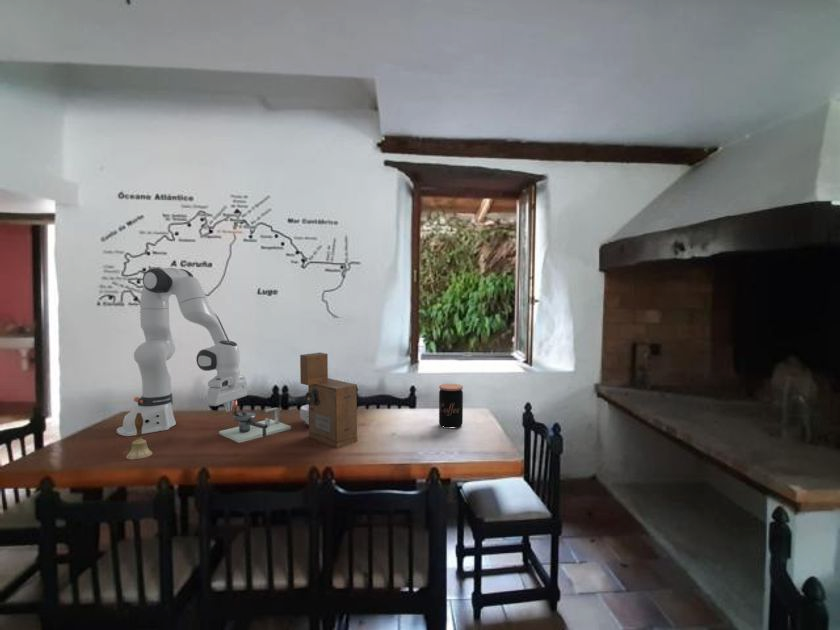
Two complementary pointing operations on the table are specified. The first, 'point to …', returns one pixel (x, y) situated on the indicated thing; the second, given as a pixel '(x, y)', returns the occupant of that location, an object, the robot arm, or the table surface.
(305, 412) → the paper bowls
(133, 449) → the hand bell
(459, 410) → the coffee jar
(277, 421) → the grey support bracket
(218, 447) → the table surface
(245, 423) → the telegraph key
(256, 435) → the board
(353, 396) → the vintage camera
